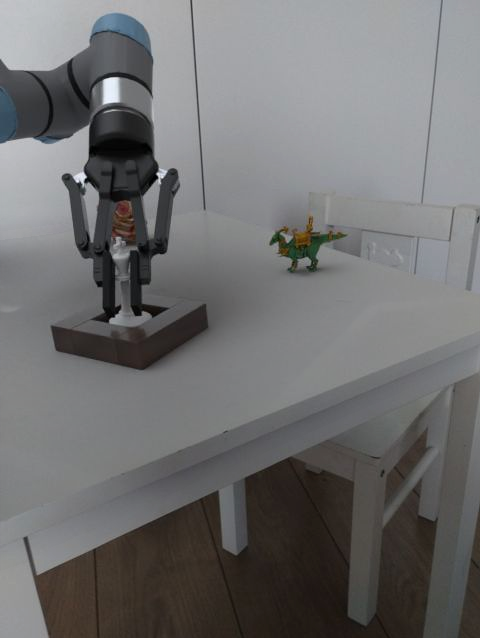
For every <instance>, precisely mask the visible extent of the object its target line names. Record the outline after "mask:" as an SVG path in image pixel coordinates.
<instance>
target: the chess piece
mask: <svg viewBox="0 0 480 638" xmlns="http://www.w3.org/2000/svg"><path fill="white" fill-rule="evenodd" d="M126 241H127V240H126ZM126 241H124V240H122V238H121V237H116V243H114V244H113V245H112V249H113V250H117V252H116V253H113V254H112V260H113V262H114V264H115V269H116V270H117V271H118V273H117V274H115V278H114V279H115V282H120V293H121V310H120V311H119V314H117V315H115V318H111V319H110V320H109V323H110V324H115V325H121V326H126V327H132V328H135V327H137V326H139V325H141V324H142V323H144V322H146V321H148V320H150V319H151V318H152V316H151V314H149V313H147V312H144V311H142V316H135V315H134V313H133V311H132V308H131V306H130V252H125V251H124V247H126V246H127V243H126Z"/></svg>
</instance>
